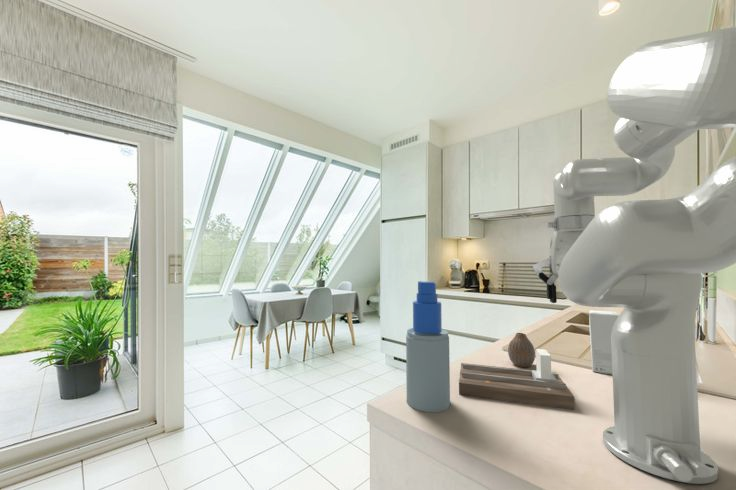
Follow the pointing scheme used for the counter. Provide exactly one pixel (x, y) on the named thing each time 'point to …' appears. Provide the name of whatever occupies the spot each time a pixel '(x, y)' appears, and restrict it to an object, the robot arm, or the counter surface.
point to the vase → (521, 351)
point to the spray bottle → (427, 354)
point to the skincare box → (601, 339)
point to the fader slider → (543, 367)
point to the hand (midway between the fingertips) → (578, 303)
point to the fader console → (513, 386)
